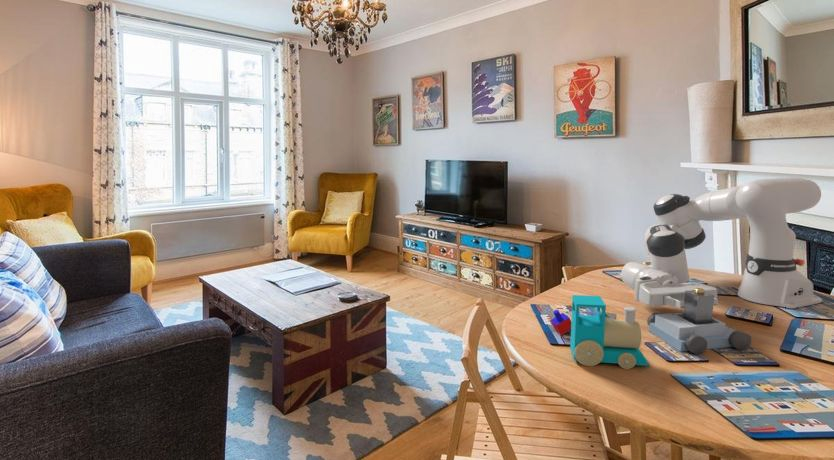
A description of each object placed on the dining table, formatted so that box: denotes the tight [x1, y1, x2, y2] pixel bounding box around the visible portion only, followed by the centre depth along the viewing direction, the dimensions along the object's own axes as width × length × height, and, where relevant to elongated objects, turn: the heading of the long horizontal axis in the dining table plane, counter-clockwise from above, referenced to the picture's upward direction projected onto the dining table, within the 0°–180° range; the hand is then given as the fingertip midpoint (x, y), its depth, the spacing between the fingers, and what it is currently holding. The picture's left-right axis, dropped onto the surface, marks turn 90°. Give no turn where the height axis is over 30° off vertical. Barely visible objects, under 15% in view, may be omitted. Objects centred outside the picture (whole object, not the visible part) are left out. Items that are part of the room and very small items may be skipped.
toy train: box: [569, 294, 650, 370], centre depth 102 cm, size 8×17×15 cm, turn 78°
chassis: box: [646, 312, 752, 355], centre depth 113 cm, size 18×16×6 cm
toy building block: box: [550, 309, 572, 336], centre depth 119 cm, size 4×4×8 cm
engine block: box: [682, 288, 715, 325], centre depth 112 cm, size 4×4×11 cm
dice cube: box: [594, 310, 618, 320], centre depth 118 cm, size 5×5×5 cm
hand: (699, 304), depth 112 cm, fingers open, 8 cm apart
